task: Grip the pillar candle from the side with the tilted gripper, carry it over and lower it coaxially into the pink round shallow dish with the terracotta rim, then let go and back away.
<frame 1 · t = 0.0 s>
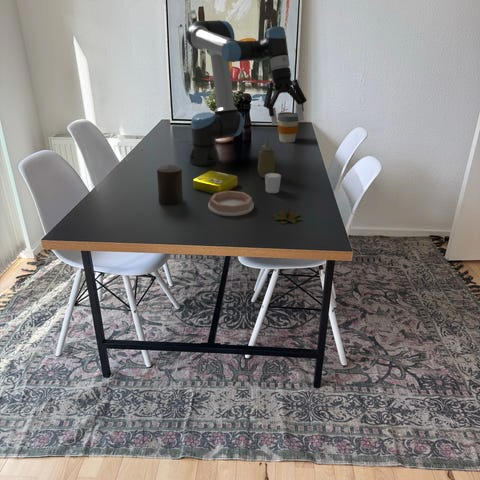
hand: (288, 122, 187), 28 cm above the table, tool tilted 20°, fingers open, 13 cm apart
squeeze bottle: (265, 176, 211), on the table
yellow square box: (215, 187, 200), on the table
pink round shallow dish: (230, 206, 180), on the table
reusable coffee cup: (287, 140, 266), on the table
shot glass: (272, 191, 196), on the table
succulent plant: (286, 219, 171), on the table
pillar candle: (171, 201, 185), on the table
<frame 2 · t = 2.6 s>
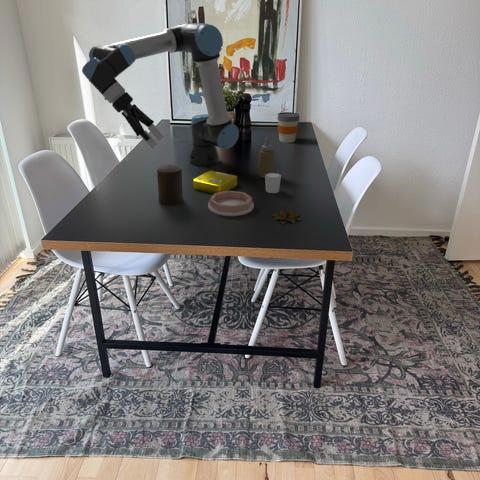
hand: (158, 142, 175), 24 cm above the table, tool tilted 40°, fingers open, 13 cm apart
nothing on the table moved.
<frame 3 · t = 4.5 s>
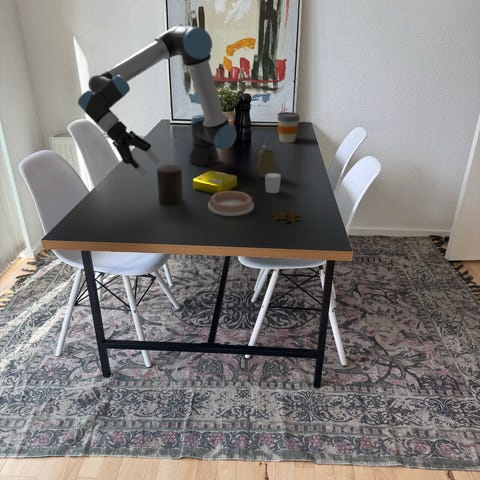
hand: (152, 168, 179), 13 cm above the table, tool tilted 45°, fingers open, 13 cm apart
nothing on the table moved.
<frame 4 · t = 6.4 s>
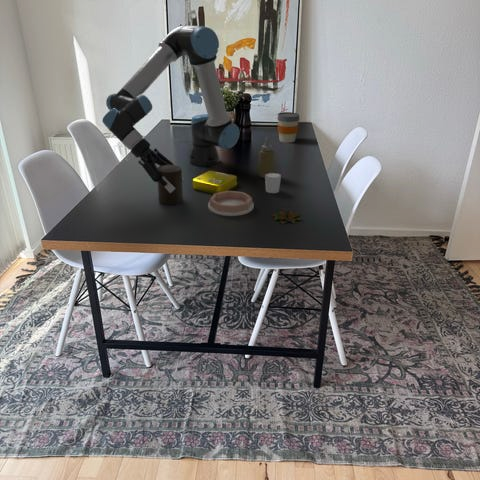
hand: (177, 186, 181), 6 cm above the table, tool tilted 45°, fingers closed on pillar candle, 10 cm apart
pillar candle: (171, 200, 185), on the table, touching gripper
everything else where it was.
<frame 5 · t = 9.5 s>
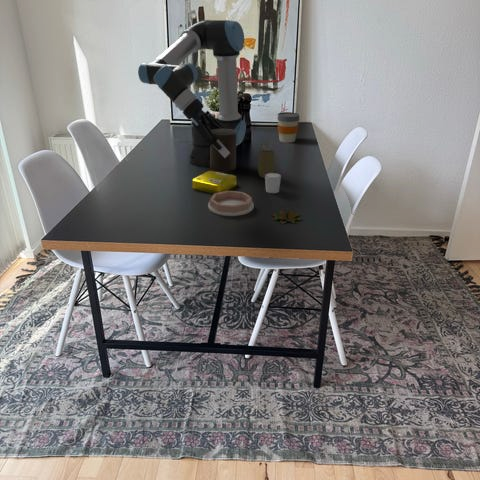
hand: (231, 151, 168), 23 cm above the table, tool tilted 45°, fingers closed on pillar candle, 9 cm apart
pillar candle: (223, 167, 172), point 16 cm above the table, touching gripper
everything else where it was.
when the fingers open (9 cm above the table, at t = 12.6 s): pillar candle drops 1 cm, resting on pink round shallow dish.
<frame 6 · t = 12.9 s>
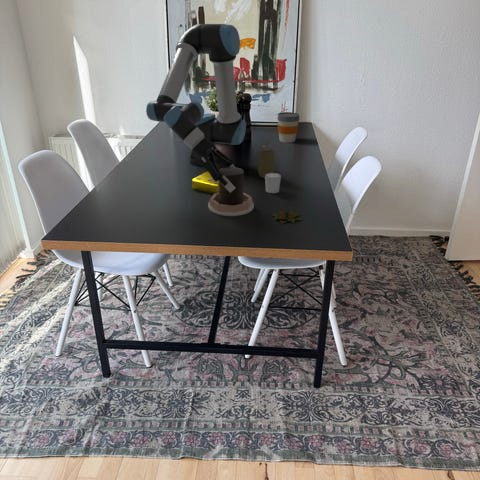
hand: (237, 184, 175), 10 cm above the table, tool tilted 45°, fingers open, 12 cm apart
pillar candle: (231, 204, 180), point 1 cm above the table, touching pink round shallow dish
everything else where it was.
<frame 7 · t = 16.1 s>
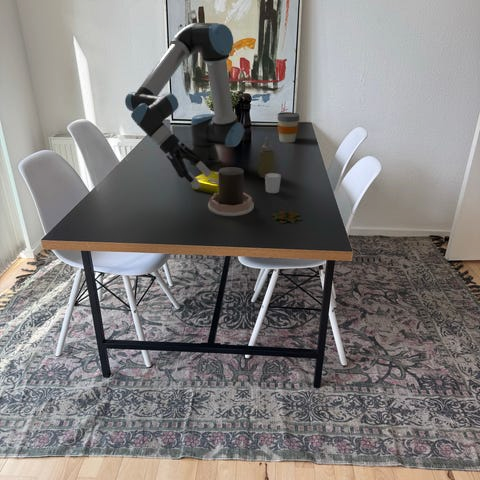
hand: (204, 180, 178), 10 cm above the table, tool tilted 45°, fingers open, 13 cm apart
nothing on the table moved.
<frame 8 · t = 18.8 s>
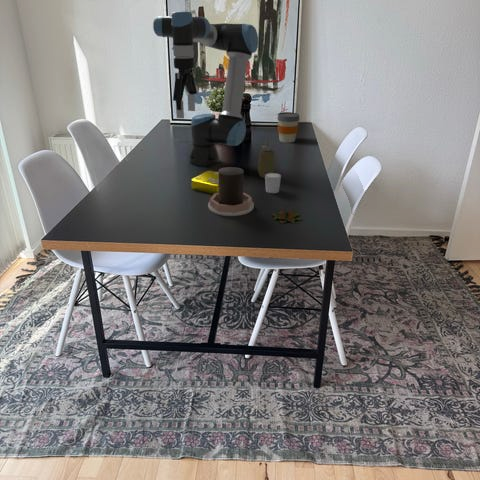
hand: (186, 114, 182), 32 cm above the table, tool pointing down, fingers open, 13 cm apart
nothing on the table moved.
at the end: pillar candle 0.4 cm off-centre on the pink round shallow dish, point 0.8 cm above the pink round shallow dish's base; pillar candle tilted 0°; the gripper is holding nothing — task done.
